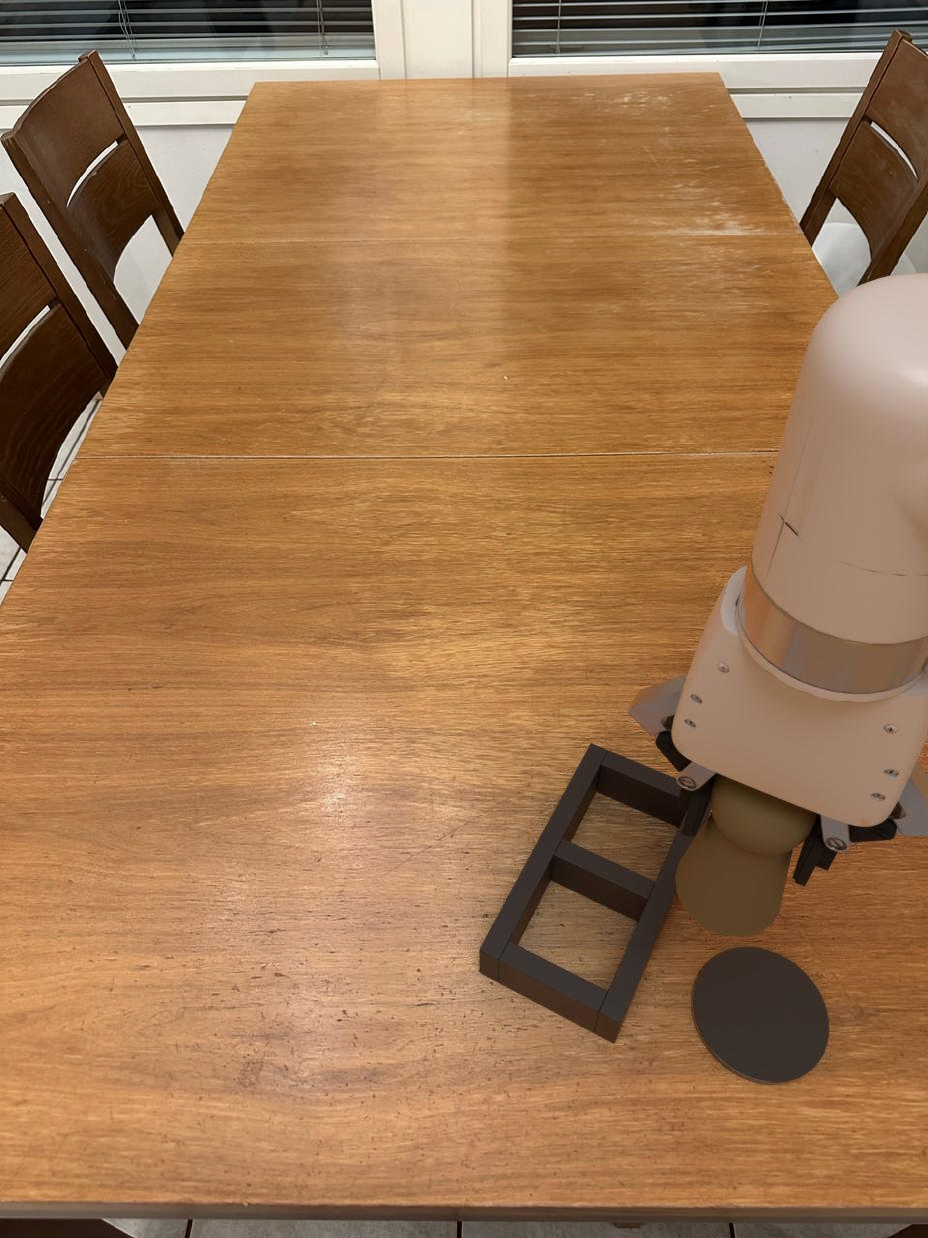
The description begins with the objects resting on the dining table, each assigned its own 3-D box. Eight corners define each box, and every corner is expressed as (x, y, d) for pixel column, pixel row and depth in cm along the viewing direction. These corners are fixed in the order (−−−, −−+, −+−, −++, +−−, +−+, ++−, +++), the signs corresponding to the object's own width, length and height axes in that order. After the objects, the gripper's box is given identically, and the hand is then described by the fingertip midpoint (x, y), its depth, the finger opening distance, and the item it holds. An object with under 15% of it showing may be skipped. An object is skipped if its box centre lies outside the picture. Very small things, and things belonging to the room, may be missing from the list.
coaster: (842, 986, 65) (844, 984, 65) (807, 1112, 60) (809, 1110, 60) (716, 928, 68) (717, 925, 68) (672, 1042, 63) (674, 1040, 63)
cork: (653, 882, 55) (682, 779, 46) (720, 820, 57) (759, 712, 49) (737, 959, 51) (784, 864, 43) (804, 891, 54) (861, 788, 46)
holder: (706, 822, 74) (716, 795, 71) (614, 1044, 63) (620, 1023, 60) (586, 770, 77) (590, 742, 74) (479, 972, 66) (478, 949, 63)
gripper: (1093, 613, 36) (932, 848, 49) (665, 484, 42) (625, 726, 55) (1072, 761, 32) (902, 975, 45) (598, 594, 37) (572, 827, 51)
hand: (750, 836), depth 50 cm, fingers closed on cork, 5 cm apart
